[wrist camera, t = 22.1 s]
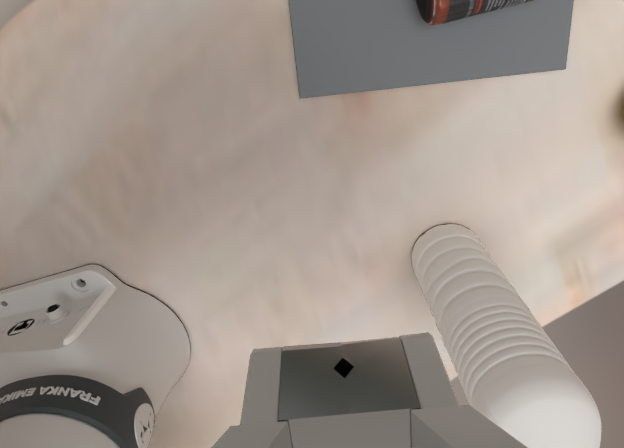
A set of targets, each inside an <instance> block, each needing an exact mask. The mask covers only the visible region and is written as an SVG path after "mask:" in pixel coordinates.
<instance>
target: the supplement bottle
mask: <svg viewBox="0 0 624 448" xmlns="http://www.w3.org/2000/svg"><path fill="white" fill-rule="evenodd" d="M529 1H533V0H416V3H417V7H418V10H419V12H420V15H421V17H422V19H423V20H424V21H425V22H426V23H427V24H429V25H439V24H444V23H448V22H452V21H455V20H459V19H463V18H467V17H470V16H475V15H479V14H482V13H486V12H490V11H494V10H498V9H501V8H505V7H510V6H513V5H517V4H521V3H525V2H529Z"/></svg>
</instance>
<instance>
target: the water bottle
mask: <svg viewBox="0 0 624 448" xmlns="http://www.w3.org/2000/svg"><path fill="white" fill-rule="evenodd" d="M411 261H412V266H413V269H414V272H415V274H416V276H417V279H418V281H419V283H420V286H421V288H422V291H423V292H424V295H425V298H426V301H427V303H428V305H429V307H430V310H431V313H432V315H433V317H434V319H435V322H436V325H437V328H438V330H439V332H440V334H441V336H442V339H443V342H444V345H445V347H446V349H447V351H448V353H449V356H450V357H451V361H452V363H453V365H454V368H455V370H456V373H457V375H458V378H459V380H460V382H461V385H462V387H463V390H464V392H465V395H466V397H467V399H468V401H469V404H470V406H471V407H473V408H474V409H475V410H477V411H478V412H480V413H481V414H482V415H484V416H485V417H486V418H488V419H489V420H491V421H492V422H493V423H495V424H496V425H497V426H499V427H500V428H502V429H503V430H504V431H506V432H507V433H508V434H510V435H511V436H513V437H514V438H515V439H517V440H518V441H519V442H521V443H522V444H524V445H525V446H526V447H528V448H600V439H601V420H600V415H599V411H598V408H597V406H596V403H595V401H594V399H593V397H592V396H591V394H590V393H589V391H588V390H587V388H586V387H585V385H584V384H583V383H582V382H581V380H580V379H579V378H578V377H577V375H576V374H575V373H574V372H573V370H572V369H571V367H570V366H569V364H568V363H567V362H566V361H565V359H564V358H563V356H562V355H561V353H560V352H559V351H558V350H557V348H556V347H555V346H554V344H553V343H552V341H551V340H550V338H549V337H548V336H547V335H546V333H545V331H544V330H543V328H542V327H541V326H540V324H539V323H538V322H537V320H536V319H535V318H534V316H533V314H532V313H531V311H530V310H529V308H528V307H527V305H526V304H525V303H524V302H523V300H522V299H521V298H520V296H519V295H518V293H517V292H516V290H515V289H514V288H513V286H512V285H511V284H510V283H509V281H508V279H507V278H506V277H505V275H504V274H503V273H502V271H501V270H500V268H499V267H498V265H497V264H496V263H495V262H494V261H493V259H492V258H491V256H490V254H489V253H488V252H487V251H486V249H485V248H484V246H483V245H482V243H481V242H480V240H479V239H478V238H477V236H476V235H475V234H474V233H473V232H472V231H471V230H469V229H467V228H465V227H463V226H461V225H456V224H446V225H439V226H436V227H433V228H431V229H430V230H428V231H427V232H426V233H425V234H424V235H422V236H421V237H420V238H419V239H418V240H417V242H416V243H415V245H414V248H413V252H412V256H411Z"/></svg>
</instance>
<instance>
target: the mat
mask: <svg viewBox="0 0 624 448" xmlns="http://www.w3.org/2000/svg"><path fill="white" fill-rule="evenodd" d="M573 1H574V0H533V1H529V2H525V3H521V4H517V5H513V6H510V7H505V8H501V9H498V10H494V11H490V12H486V13H482V14H479V15H475V16H470V17H467V18H463V19H459V20H455V21H452V22H448V23H444V24H439V25H429V24H427V23H426V22H425V21H424V20H423V19H422V17H421V15H420V12H419V10H418V7H417V3H416V0H289V6H290V15H291V24H292V32H293V41H294V50H295V59H296V68H297V77H298V85H299V94H300V98H308V97H317V96H327V95H336V94H345V93H354V92H363V91H372V90H381V89H390V88H399V87H409V86H418V85H427V84H436V83H445V82H454V81H463V80H472V79H481V78H490V77H500V76H509V75H518V74H527V73H536V72H545V71H554V70H563V69H566V62H567V53H568V45H569V36H570V27H571V19H572V10H573Z"/></svg>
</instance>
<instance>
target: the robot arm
mask: <svg viewBox="0 0 624 448" xmlns="http://www.w3.org/2000/svg"><path fill="white" fill-rule="evenodd" d="M80 279H82V280H84V281H85V282H86V283H83V282H81V281H80ZM189 360H190V342H189V338H188V335H187V333H186V330H185V328H184V326H183V325H182V323H181V322H180V320H179V319H178V318H177V316H176V315H175V314H174V313H173V312H172V311H171V310H170V309H169V308H168V307H167V306H165V305H164V304H163V303H161V302H160V301H159V300H157V299H155V298H154V297H152V296H150V295H148V294H146V293H144V292H141V291H139V290H136V289H134V288H131V287H129V286H127V285H125V284H123V283H122V282H121V281H120V280H118V279H117V278H116V277H115V276H114V275H113V274H111V273H110V272H109V271H108V270H106V269H105V268H103V267H101V266H99V265H94V264H91V265H87V266H83V267H80V268H76V269H73V270H69V271H66V272H62V273H59V274H56V275H52V276H49V277H45V278H42V279H38V280H35V281H32V282H28V283H25V284H21V285H18V286H14V287H11V288H8V289H4V290H1V291H0V448H148V445H149V443H150V439H151V435H152V431H153V427H154V423H155V418H156V416H157V414H158V412H159V410H160V408H161V406H162V404H163V402H164V400H165V399H166V397H167V395H168V394H169V392H170V391H171V389H172V388H173V387H174V385H175V384H176V383H177V382H178V380H179V379H180V378H181V377H182V375H183V374H184V372H185V371H186V369H187V366H188V363H189ZM211 448H528V447H526V446H525V445H524V444H522V443H521V442H519V441H518V440H517V439H515V438H514V437H513V436H511V435H510V434H508V433H507V432H506V431H504V430H503V429H502V428H500V427H499V426H497V425H496V424H495V423H493V422H492V421H491V420H489V419H488V418H486V417H485V416H484V415H482V414H481V413H480V412H478V411H477V410H475V409H474V408H473V407H471V406H470V405H462V406H459V403H458V401H457V398H456V395H455V393H454V390H453V388H452V385H451V383H450V380H449V377H448V375H447V372H446V370H445V367H444V365H443V362H442V359H441V357H440V354H439V352H438V349H437V347H436V344H435V341H434V339H433V336H432V335H431V334H430V333H420V334H412V335H403V336H399V337H392V338H382V339H372V340H362V341H352V342H342V343H341V342H339V343H325V344H311V345H297V346H283V348H282V347H275V348H262V349H254V350H253V351H252V353H251V355H250V361H249V368H248V374H247V381H246V388H245V395H244V402H243V408H242V415H241V422H240V425H239V426H230V428H229V429H228V430H227V431H226V432H225V433H224V434H223V435H222V436H221V437H220V439H219V440H218V441H217V442H216V443H215V444H214V445H213V446H212V447H211Z"/></svg>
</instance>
